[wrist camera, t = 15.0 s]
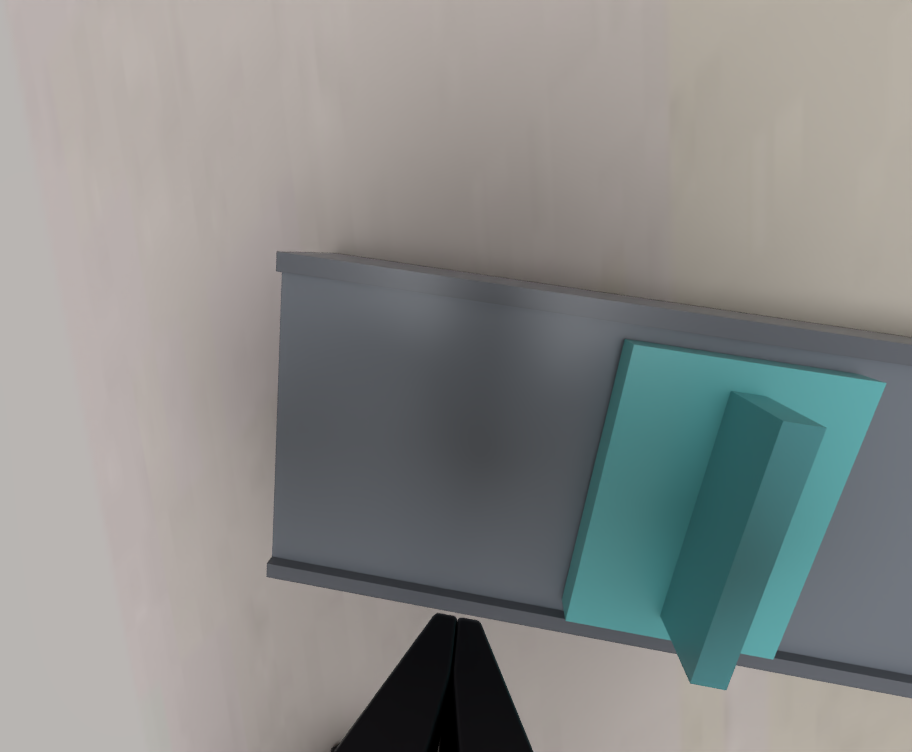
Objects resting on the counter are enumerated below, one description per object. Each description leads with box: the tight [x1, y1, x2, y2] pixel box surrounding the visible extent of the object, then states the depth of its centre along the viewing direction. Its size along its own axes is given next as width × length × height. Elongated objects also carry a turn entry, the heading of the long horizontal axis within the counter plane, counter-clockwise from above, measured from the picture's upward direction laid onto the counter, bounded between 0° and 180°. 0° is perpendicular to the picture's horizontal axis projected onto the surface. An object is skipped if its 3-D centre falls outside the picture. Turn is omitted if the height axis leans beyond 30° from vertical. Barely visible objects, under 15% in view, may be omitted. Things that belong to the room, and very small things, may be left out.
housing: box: [267, 251, 912, 698], centre depth 17 cm, size 12×24×5 cm, turn 82°
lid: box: [562, 339, 886, 690], centre depth 13 cm, size 10×7×4 cm
